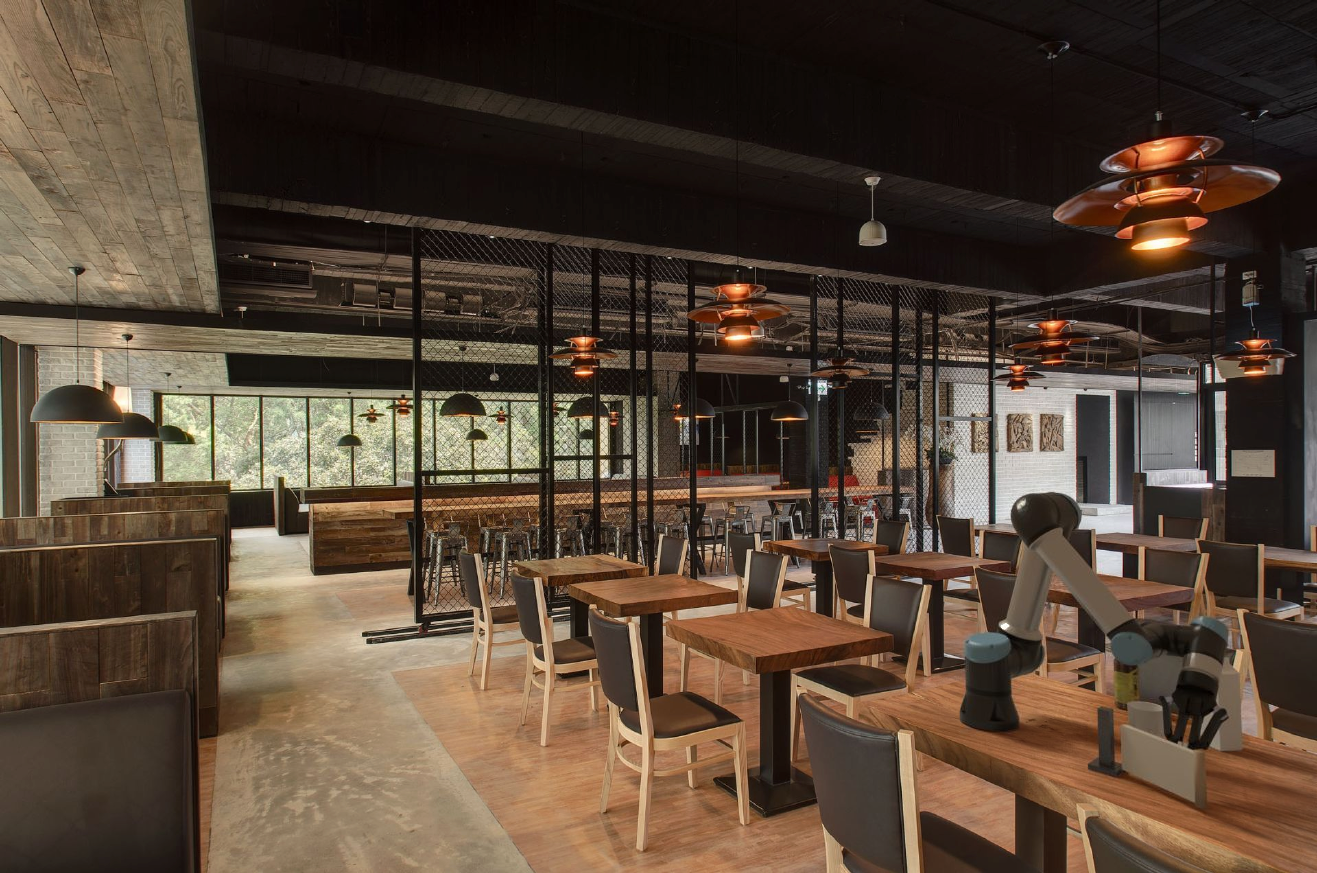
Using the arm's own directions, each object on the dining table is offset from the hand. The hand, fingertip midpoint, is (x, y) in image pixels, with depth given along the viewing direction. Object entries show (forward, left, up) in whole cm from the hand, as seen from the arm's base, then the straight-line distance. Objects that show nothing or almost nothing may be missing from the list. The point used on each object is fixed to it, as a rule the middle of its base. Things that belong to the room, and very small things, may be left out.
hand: (1178, 772), depth 158 cm
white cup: (-14, +26, -5) cm, 30 cm away
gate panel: (-3, -1, -4) cm, 5 cm away
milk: (-2, +40, -5) cm, 41 cm away
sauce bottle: (-28, +55, -5) cm, 62 cm away
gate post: (-15, +3, -5) cm, 16 cm away
